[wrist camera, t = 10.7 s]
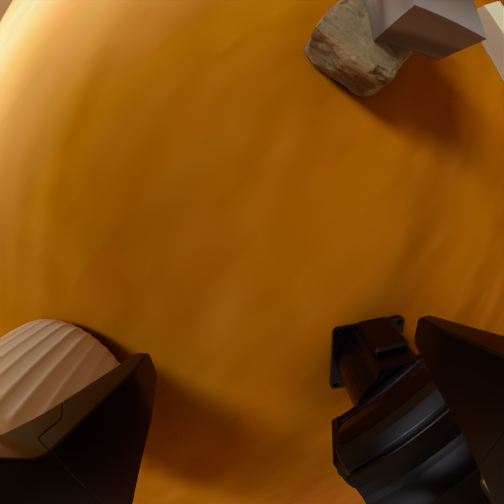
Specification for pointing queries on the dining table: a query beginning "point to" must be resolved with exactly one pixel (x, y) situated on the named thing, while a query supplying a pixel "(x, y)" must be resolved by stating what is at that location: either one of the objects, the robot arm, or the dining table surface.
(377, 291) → the dining table surface
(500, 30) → the beige brick
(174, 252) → the dining table surface
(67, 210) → the dining table surface
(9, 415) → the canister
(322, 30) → the stone block
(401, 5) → the gray cube
